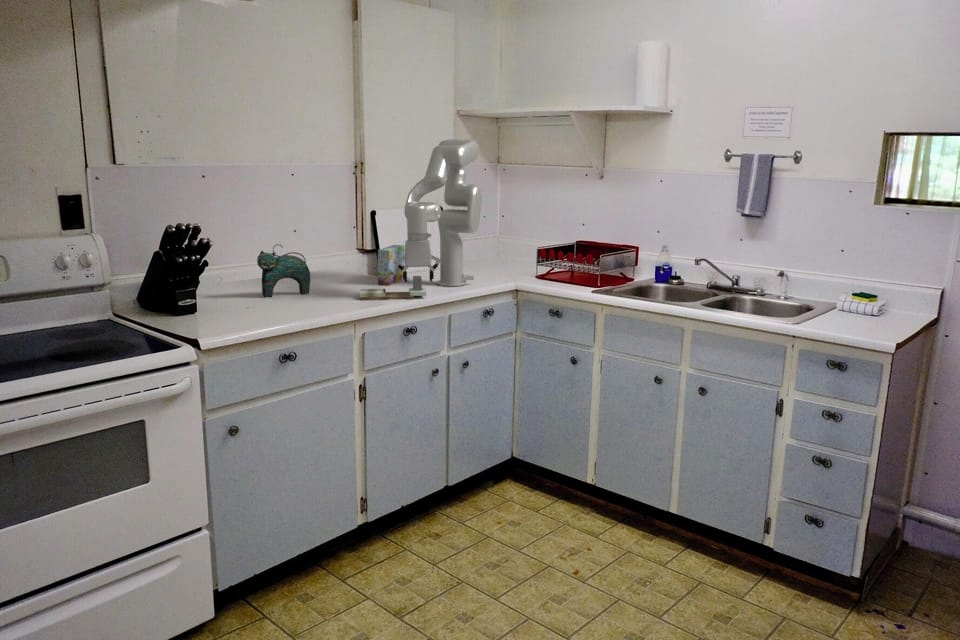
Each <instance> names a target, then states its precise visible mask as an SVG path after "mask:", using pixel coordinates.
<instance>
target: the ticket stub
mask: <svg viewBox="0 0 960 640" xmlns="http://www.w3.org/2000/svg"><path fill="white" fill-rule="evenodd" d="M422 281H423V280H422V276H421V275H412V287H409V288H408V292H409V293H410V296H413V297H415V296H416V297H418V296H419V297H421V296H424V297H425V296H427V290H426V288H425V287H422V286H423V285H422V284H423V282H422Z"/></svg>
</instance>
